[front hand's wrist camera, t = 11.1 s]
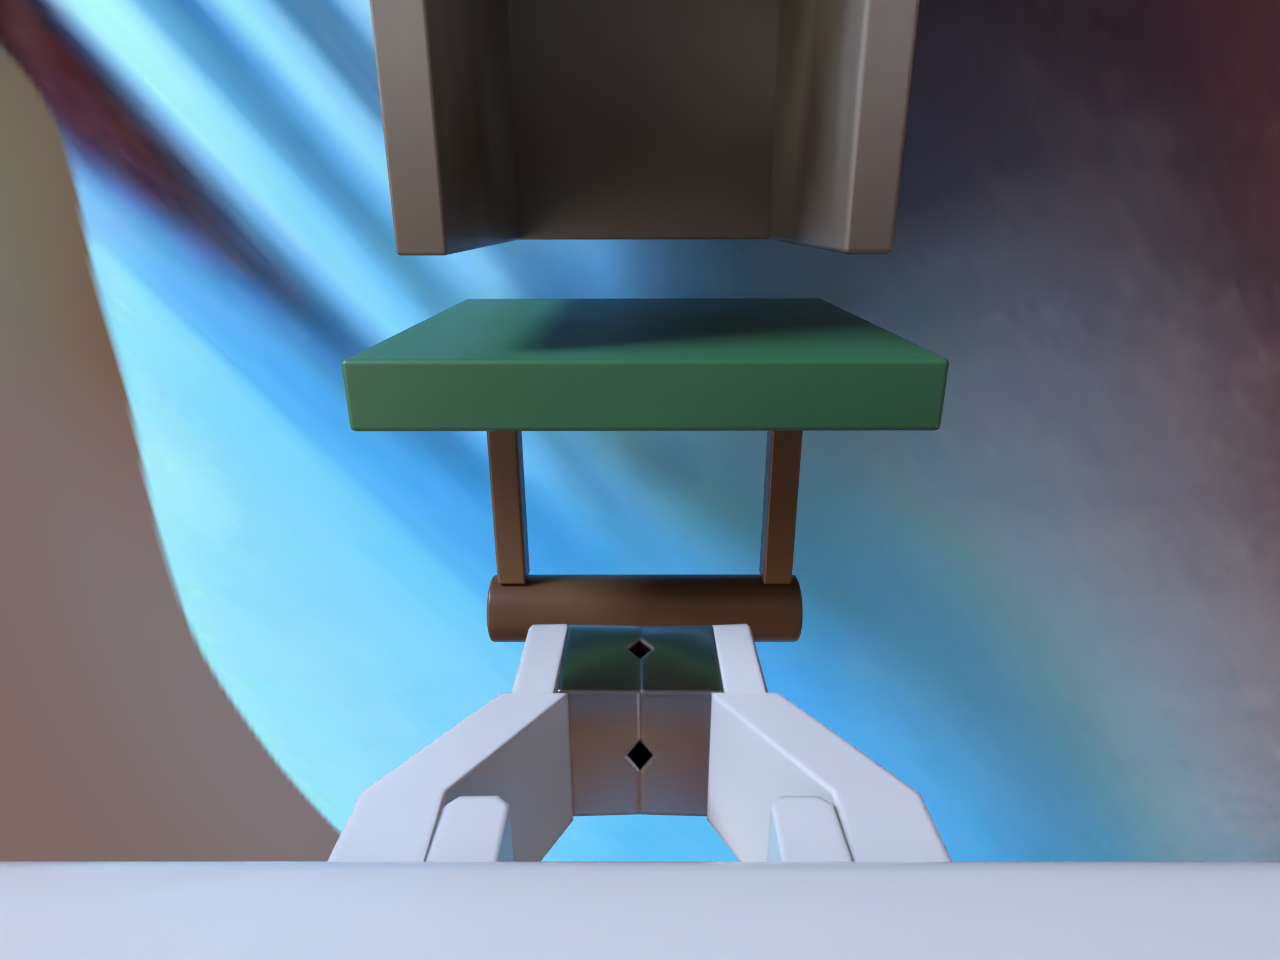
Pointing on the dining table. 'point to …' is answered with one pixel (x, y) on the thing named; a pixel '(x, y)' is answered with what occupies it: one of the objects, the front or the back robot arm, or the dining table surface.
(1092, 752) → the dining table surface
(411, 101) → the drawer
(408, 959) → the front robot arm
